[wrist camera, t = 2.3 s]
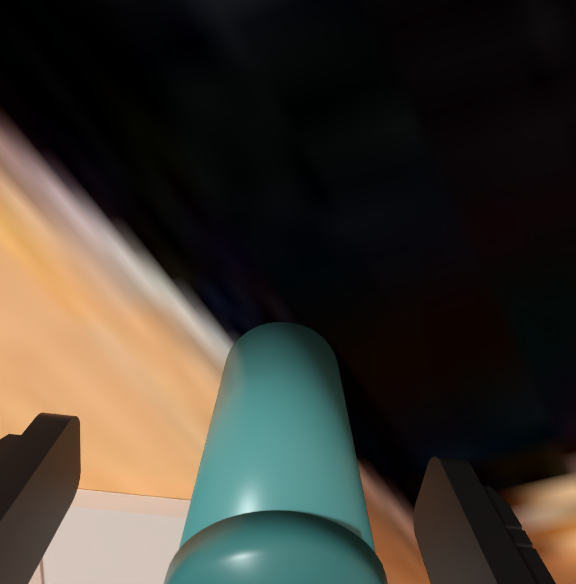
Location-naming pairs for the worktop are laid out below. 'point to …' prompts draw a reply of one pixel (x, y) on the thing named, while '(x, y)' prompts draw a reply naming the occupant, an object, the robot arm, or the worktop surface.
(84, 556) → the board
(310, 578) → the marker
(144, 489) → the worktop surface
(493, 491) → the robot arm
